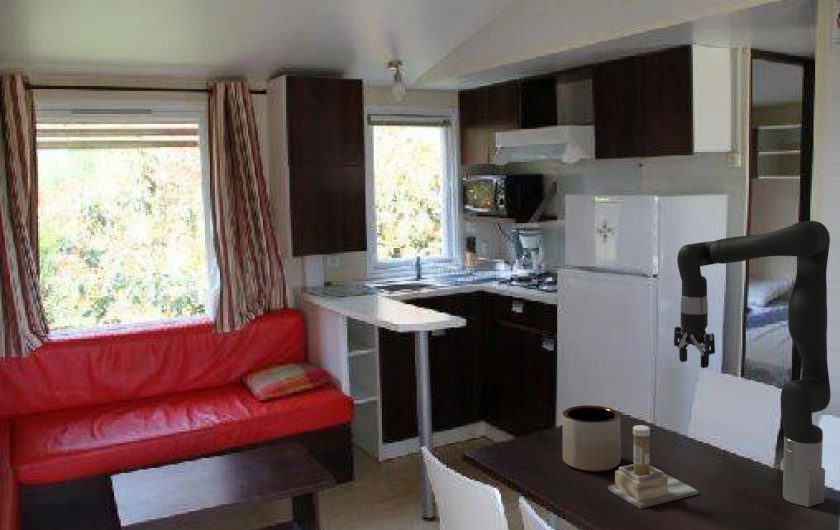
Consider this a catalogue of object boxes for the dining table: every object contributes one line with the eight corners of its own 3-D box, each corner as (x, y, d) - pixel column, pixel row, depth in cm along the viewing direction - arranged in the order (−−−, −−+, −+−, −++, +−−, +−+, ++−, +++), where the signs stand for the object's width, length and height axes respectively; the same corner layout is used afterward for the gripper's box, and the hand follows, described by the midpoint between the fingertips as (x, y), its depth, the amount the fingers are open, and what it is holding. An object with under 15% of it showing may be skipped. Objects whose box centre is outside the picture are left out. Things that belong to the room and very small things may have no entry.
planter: (622, 474, 225) (622, 423, 223) (562, 471, 228) (561, 421, 226) (619, 452, 242) (619, 405, 240) (563, 450, 246) (562, 404, 244)
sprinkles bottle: (652, 476, 208) (652, 429, 206) (637, 477, 207) (637, 430, 206) (645, 469, 212) (645, 423, 211) (630, 471, 212) (630, 425, 210)
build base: (698, 494, 209) (698, 469, 209) (640, 508, 202) (640, 482, 201) (663, 476, 222) (663, 452, 221) (607, 489, 215) (607, 465, 214)
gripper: (722, 313, 217) (721, 368, 219) (686, 306, 230) (686, 357, 232) (702, 316, 214) (701, 371, 216) (667, 308, 227) (667, 361, 229)
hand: (693, 364), depth 224 cm, fingers open, 8 cm apart
